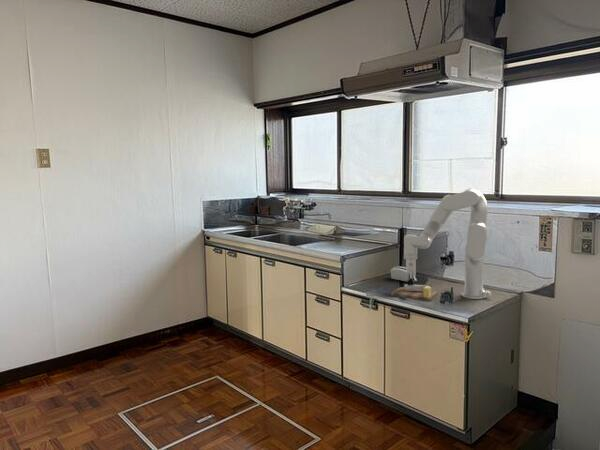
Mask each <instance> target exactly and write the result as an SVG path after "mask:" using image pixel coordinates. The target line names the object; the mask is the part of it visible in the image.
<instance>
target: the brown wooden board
mask: <svg viewBox="0 0 600 450" xmlns="http://www.w3.org/2000/svg"><path fill="white" fill-rule="evenodd" d="M439 295H440V294H439V291H438V292H437V291H433V290H431V296H430V297H429V298H428V297H423V291H405V290H404V286H403V287H401V286H400V287H398V288H396V289H395V290H393V291H392V292H390V296H392V297H399V298H406V299H413V300H419V301H427V302H432V300H435V298H437V297H438V296H439Z"/></svg>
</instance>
